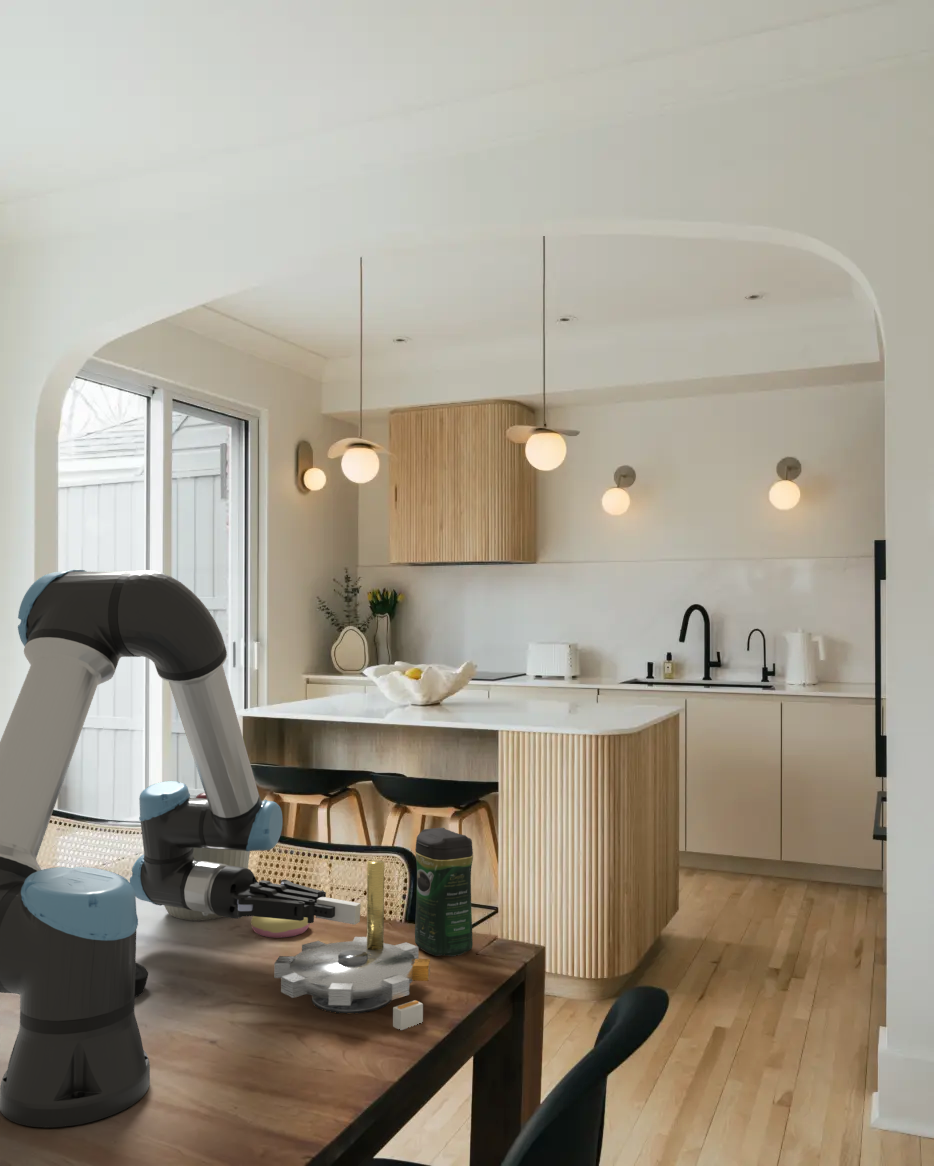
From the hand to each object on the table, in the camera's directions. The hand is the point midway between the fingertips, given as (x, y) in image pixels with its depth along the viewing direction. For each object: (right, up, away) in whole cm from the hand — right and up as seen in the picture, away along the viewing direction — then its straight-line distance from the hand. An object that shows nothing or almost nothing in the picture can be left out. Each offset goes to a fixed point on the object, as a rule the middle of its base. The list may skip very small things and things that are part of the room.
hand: (357, 913), depth 144 cm
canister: (-31, -10, +31) cm, 45 cm away
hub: (0, -9, -9) cm, 12 cm away
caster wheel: (-34, -9, -7) cm, 36 cm away
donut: (-15, -10, +21) cm, 28 cm away
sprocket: (0, -6, -9) cm, 10 cm away
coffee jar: (+12, -10, +12) cm, 20 cm away
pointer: (+8, -8, -18) cm, 21 cm away
